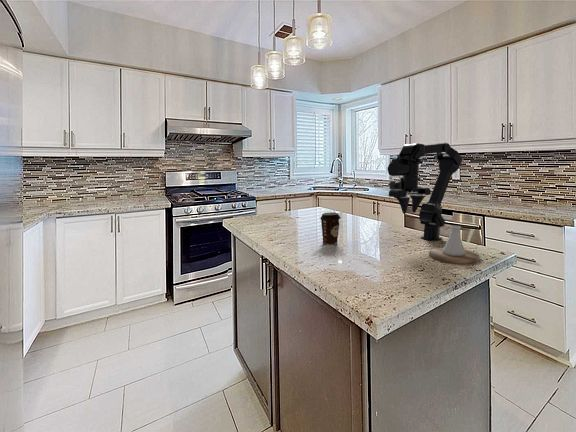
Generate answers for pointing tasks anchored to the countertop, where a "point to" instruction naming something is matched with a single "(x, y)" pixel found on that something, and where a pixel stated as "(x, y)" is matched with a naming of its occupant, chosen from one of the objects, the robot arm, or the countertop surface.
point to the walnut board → (454, 257)
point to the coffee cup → (330, 227)
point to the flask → (454, 243)
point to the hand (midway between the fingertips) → (409, 213)
